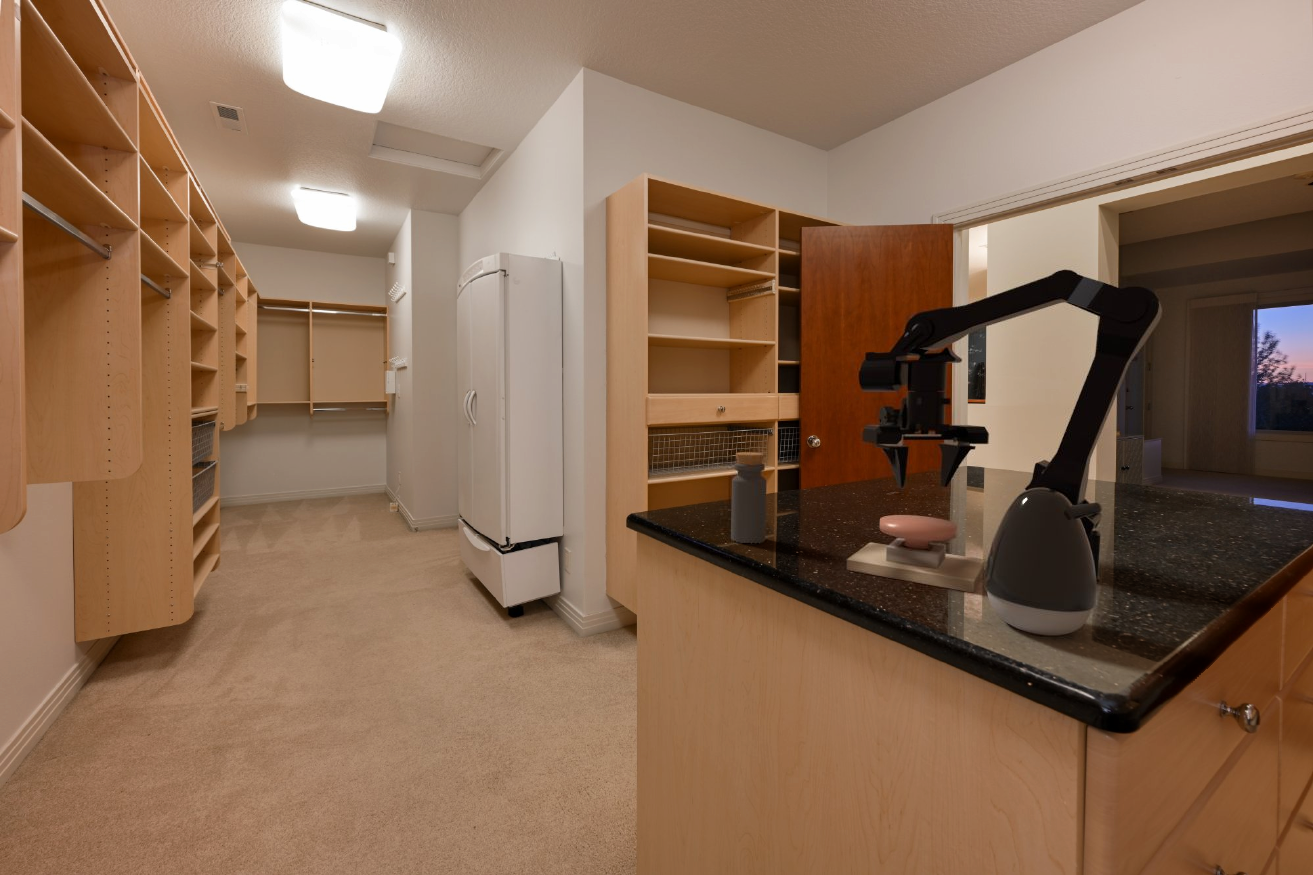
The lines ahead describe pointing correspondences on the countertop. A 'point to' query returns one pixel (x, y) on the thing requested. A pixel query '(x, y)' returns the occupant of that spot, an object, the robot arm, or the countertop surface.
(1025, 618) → the pump dispenser
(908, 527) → the button
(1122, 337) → the robot arm
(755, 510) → the bottle
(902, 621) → the countertop surface
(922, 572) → the button base
